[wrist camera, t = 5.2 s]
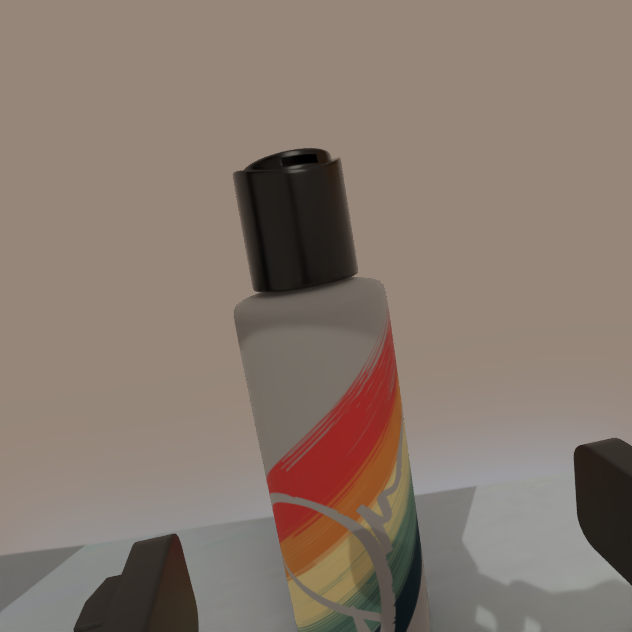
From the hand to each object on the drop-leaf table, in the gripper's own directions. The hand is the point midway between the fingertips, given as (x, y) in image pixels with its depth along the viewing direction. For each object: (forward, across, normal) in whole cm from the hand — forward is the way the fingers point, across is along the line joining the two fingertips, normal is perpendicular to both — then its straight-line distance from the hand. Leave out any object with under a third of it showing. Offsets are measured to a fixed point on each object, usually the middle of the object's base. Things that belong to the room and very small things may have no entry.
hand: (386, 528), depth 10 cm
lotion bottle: (+10, 0, +12) cm, 15 cm away
